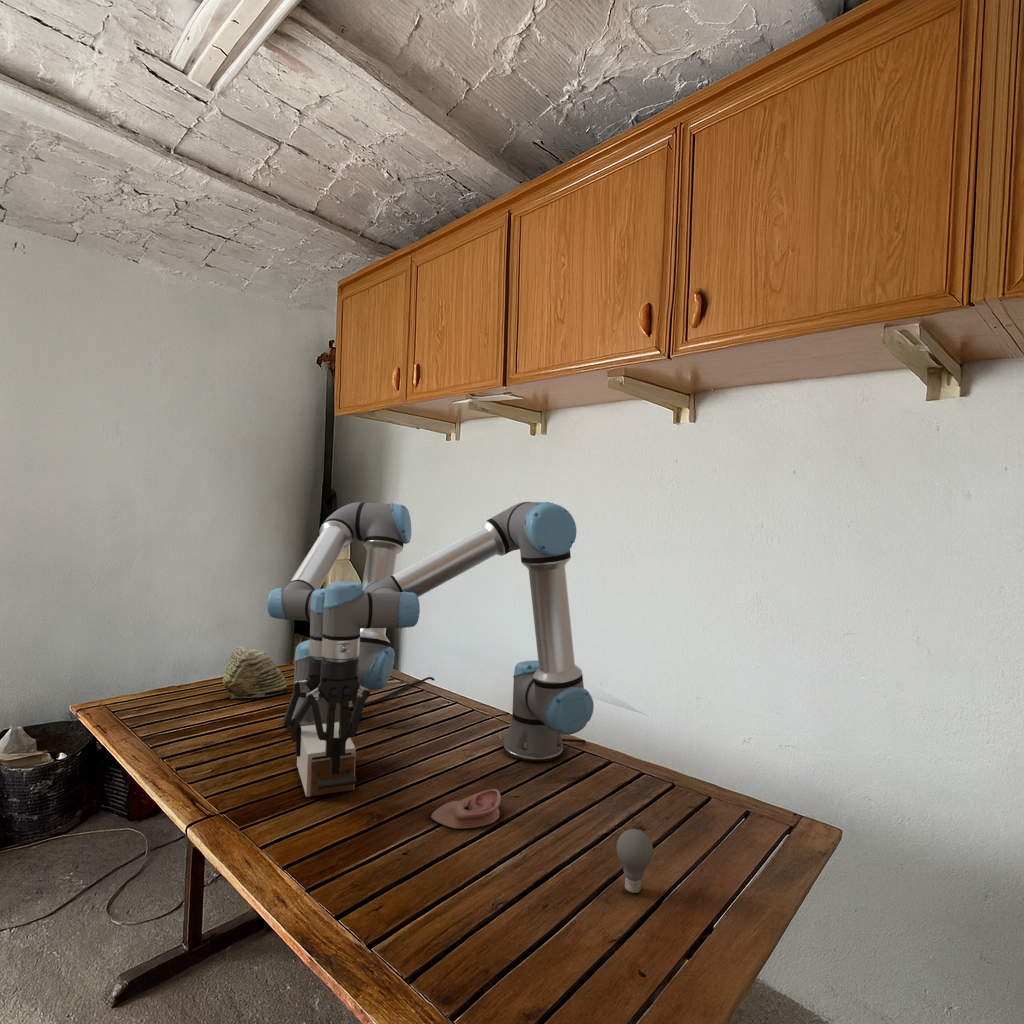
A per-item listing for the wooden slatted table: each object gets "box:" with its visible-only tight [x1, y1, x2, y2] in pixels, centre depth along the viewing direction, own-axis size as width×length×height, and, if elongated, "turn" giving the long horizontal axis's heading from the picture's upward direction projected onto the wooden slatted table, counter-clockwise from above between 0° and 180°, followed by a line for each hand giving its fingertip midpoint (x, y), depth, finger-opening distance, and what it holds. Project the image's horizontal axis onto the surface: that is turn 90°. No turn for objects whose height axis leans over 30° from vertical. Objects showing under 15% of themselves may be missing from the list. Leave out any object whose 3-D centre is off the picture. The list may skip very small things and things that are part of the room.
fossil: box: [222, 646, 288, 699], centre depth 198 cm, size 9×18×15 cm, turn 132°
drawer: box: [309, 753, 357, 797], centre depth 138 cm, size 22×9×7 cm, turn 25°
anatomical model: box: [430, 788, 502, 830], centre depth 128 cm, size 13×4×12 cm
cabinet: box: [296, 722, 357, 798], centre depth 143 cm, size 17×10×9 cm, turn 25°
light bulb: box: [615, 828, 654, 894], centre depth 106 cm, size 6×6×10 cm
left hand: (322, 751), depth 147 cm, fingers closed on cabinet, 10 cm apart
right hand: (334, 771), depth 131 cm, fingers closed
